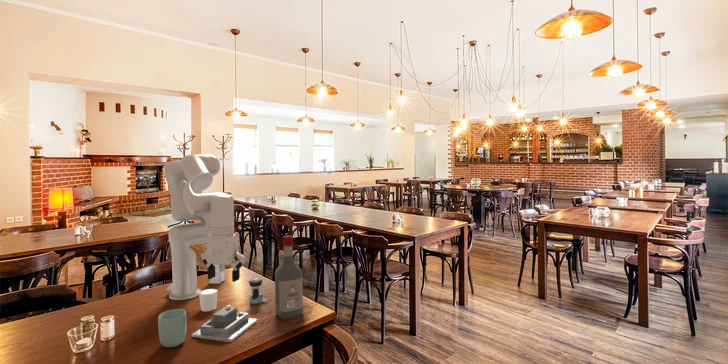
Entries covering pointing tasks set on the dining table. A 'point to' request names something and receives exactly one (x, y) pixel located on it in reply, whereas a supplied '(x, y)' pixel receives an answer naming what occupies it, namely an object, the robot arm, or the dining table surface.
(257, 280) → the push button
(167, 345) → the cup
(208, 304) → the white cylinder
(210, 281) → the syrup box
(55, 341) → the dining table surface
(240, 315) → the plate
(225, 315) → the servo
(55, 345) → the dining table surface
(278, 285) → the liquor
